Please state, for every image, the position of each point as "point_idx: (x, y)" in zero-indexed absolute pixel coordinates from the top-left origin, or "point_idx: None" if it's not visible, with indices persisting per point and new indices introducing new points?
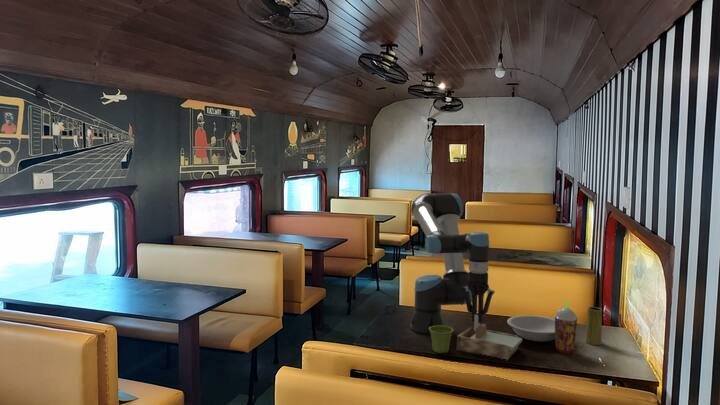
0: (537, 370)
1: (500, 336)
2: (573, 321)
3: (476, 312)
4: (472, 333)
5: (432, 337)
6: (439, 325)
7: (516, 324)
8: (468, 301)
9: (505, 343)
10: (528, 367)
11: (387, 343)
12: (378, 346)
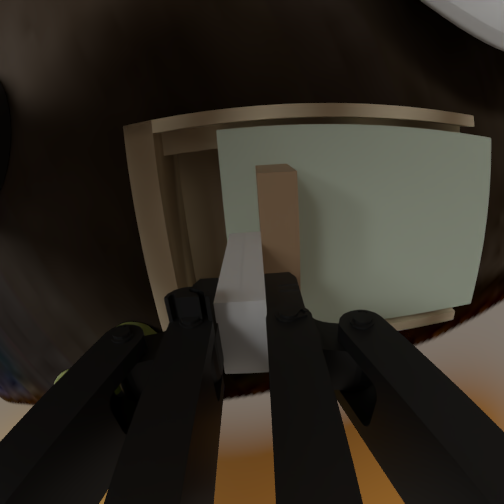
0: (500, 298)
1: (394, 176)
2: None
3: (211, 322)
4: (172, 154)
5: None
6: (61, 376)
7: None
8: (103, 492)
9: (439, 279)
10: (482, 294)
11: (10, 365)
12: (21, 392)
